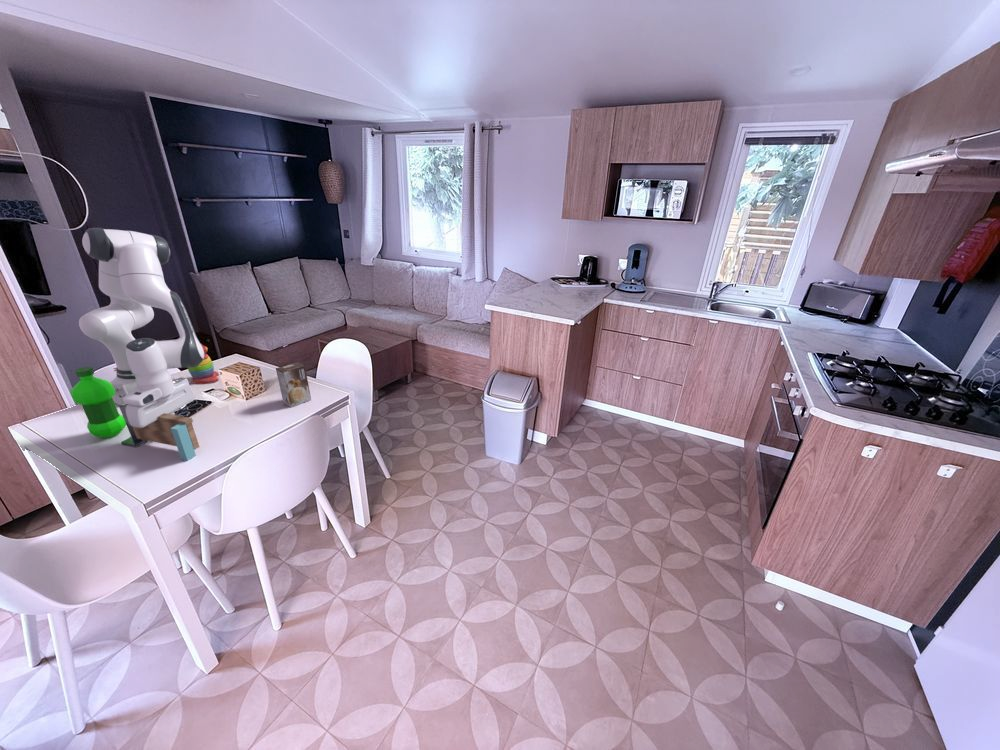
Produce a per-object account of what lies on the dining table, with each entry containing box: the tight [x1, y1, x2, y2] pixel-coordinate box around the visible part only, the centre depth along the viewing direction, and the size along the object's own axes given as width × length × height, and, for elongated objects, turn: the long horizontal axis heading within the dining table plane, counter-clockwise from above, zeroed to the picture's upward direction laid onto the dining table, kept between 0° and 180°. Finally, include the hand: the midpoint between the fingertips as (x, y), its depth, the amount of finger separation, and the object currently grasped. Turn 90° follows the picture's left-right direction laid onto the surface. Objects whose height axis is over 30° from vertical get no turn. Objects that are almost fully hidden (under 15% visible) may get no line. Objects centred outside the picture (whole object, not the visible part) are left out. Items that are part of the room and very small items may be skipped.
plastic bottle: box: [70, 366, 127, 439], centre depth 135 cm, size 10×10×25 cm
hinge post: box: [118, 404, 148, 448], centre depth 135 cm, size 6×6×14 cm
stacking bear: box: [187, 342, 220, 385], centre depth 178 cm, size 11×10×18 cm
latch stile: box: [171, 423, 197, 462], centre depth 128 cm, size 2×3×12 cm
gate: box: [125, 410, 200, 451], centre depth 132 cm, size 24×2×11 cm, turn 78°
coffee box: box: [275, 361, 312, 408], centre depth 164 cm, size 9×6×16 cm
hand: (170, 424), depth 135 cm, fingers closed
